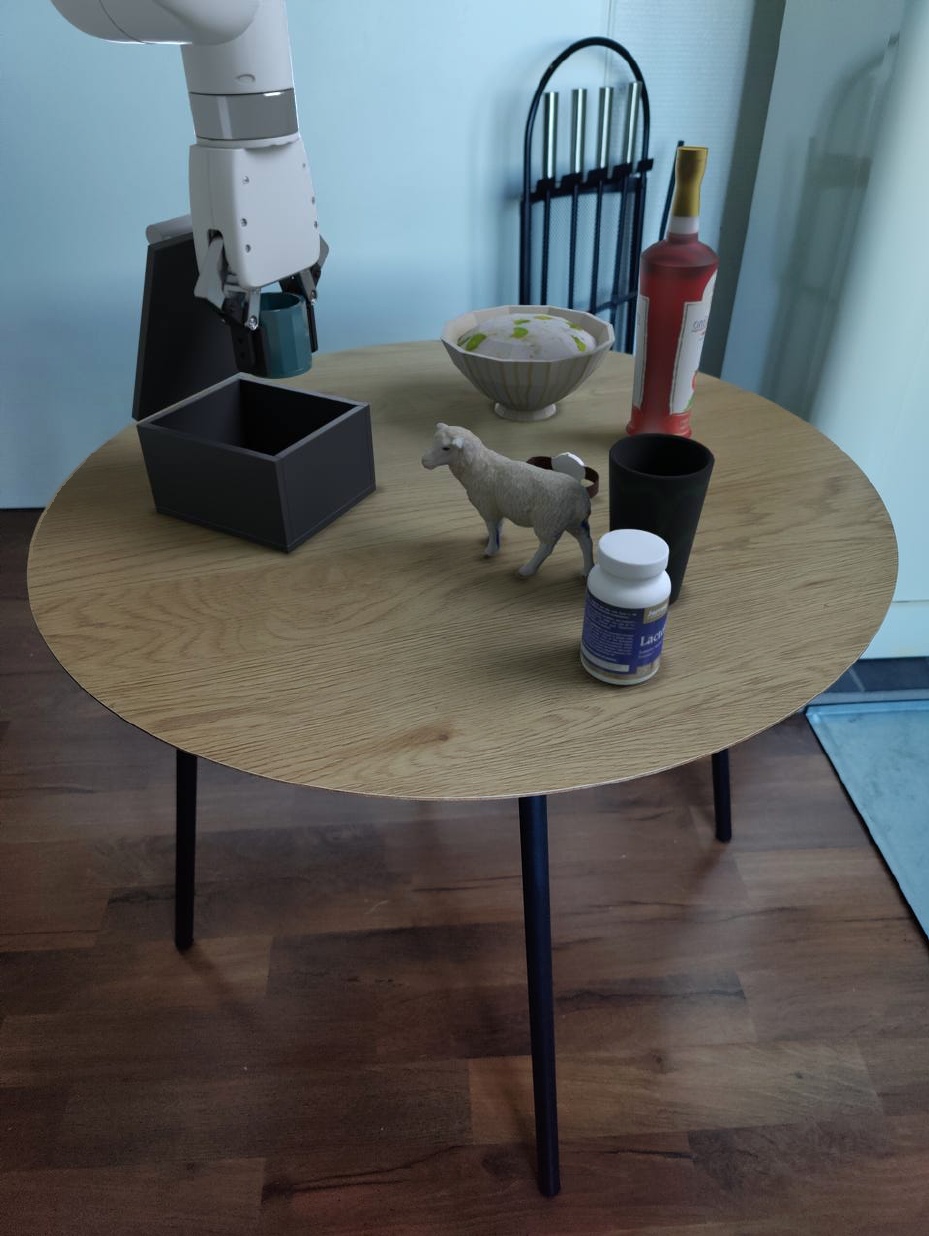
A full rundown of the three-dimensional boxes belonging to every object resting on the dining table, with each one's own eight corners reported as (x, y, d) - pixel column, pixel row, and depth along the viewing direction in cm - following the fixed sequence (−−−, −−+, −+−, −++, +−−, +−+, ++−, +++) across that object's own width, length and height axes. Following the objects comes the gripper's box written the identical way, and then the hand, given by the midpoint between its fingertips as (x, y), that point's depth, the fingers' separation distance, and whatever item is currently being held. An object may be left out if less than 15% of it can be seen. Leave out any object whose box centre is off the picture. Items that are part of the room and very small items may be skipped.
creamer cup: (251, 382, 74) (241, 315, 71) (244, 360, 78) (233, 295, 75) (317, 374, 75) (309, 307, 72) (306, 352, 80) (298, 288, 76)
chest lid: (271, 214, 78) (227, 184, 78) (155, 250, 68) (105, 216, 69) (241, 372, 89) (202, 345, 90) (137, 422, 80) (95, 391, 80)
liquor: (633, 423, 100) (663, 139, 84) (699, 434, 98) (743, 144, 81) (613, 449, 95) (640, 151, 79) (682, 462, 92) (725, 156, 76)
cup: (650, 629, 69) (669, 488, 62) (577, 588, 74) (587, 453, 67) (712, 591, 73) (736, 455, 66) (638, 554, 78) (653, 423, 71)
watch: (607, 491, 87) (610, 456, 85) (585, 511, 84) (587, 476, 82) (537, 472, 91) (538, 438, 89) (513, 491, 88) (514, 456, 86)
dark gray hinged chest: (376, 489, 88) (369, 403, 83) (288, 554, 79) (274, 461, 73) (251, 456, 95) (238, 374, 89) (156, 512, 85) (135, 424, 80)
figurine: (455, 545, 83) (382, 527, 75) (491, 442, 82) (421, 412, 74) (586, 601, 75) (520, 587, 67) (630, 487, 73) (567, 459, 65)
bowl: (407, 406, 105) (402, 319, 99) (527, 365, 115) (529, 284, 109) (523, 461, 93) (525, 366, 87) (645, 410, 103) (655, 322, 97)
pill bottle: (651, 695, 63) (668, 575, 57) (571, 678, 65) (580, 559, 59) (665, 648, 67) (683, 531, 61) (590, 632, 69) (600, 517, 63)
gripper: (280, 101, 74) (306, 325, 84) (118, 131, 62) (173, 388, 72) (356, 106, 70) (373, 337, 81) (202, 139, 58) (245, 405, 69)
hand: (278, 359), depth 77 cm, fingers closed on creamer cup, 5 cm apart
